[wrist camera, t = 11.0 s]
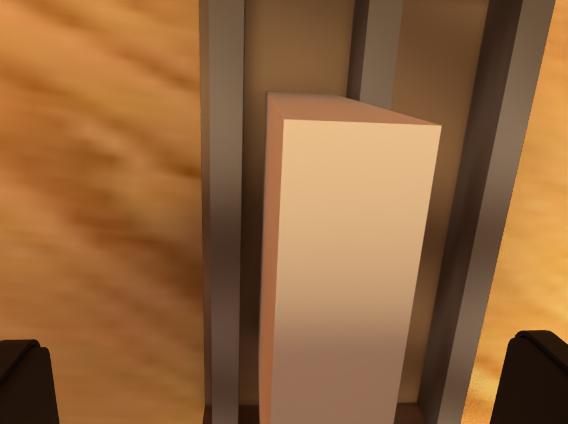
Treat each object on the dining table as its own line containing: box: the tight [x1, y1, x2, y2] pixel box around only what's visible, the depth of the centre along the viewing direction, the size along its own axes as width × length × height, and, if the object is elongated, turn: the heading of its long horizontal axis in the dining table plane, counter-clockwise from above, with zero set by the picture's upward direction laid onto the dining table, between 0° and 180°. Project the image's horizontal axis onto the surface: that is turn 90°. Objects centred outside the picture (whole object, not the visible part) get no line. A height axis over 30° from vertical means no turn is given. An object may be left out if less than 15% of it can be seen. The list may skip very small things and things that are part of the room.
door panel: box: [258, 91, 442, 424], centre depth 12 cm, size 10×2×9 cm, turn 177°
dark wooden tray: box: [199, 0, 555, 424], centre depth 16 cm, size 19×11×3 cm, turn 177°
